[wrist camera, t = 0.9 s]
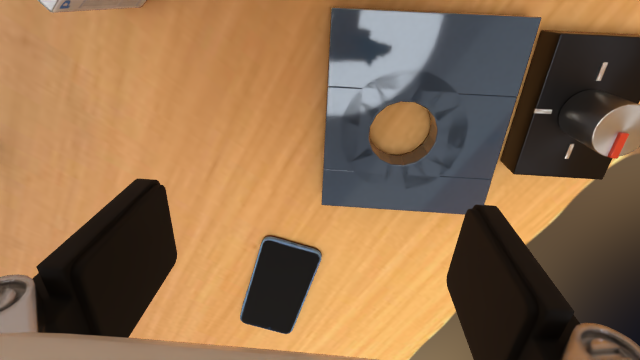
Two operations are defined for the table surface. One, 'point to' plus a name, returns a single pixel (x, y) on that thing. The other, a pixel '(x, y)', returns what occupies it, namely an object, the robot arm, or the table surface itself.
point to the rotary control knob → (602, 122)
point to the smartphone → (279, 284)
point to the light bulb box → (89, 4)
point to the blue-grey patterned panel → (427, 90)
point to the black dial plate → (557, 88)
